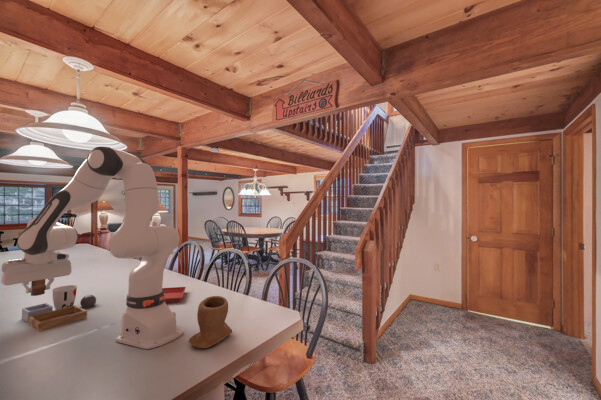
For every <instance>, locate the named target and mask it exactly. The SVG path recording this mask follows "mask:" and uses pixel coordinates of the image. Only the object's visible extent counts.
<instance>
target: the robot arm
mask: <svg viewBox="0 0 601 400" xmlns="http://www.w3.org/2000/svg"><path fill="white" fill-rule="evenodd" d="M113 178H114V179H116V180H122V182H123V188H124V189H123V190H124V191H123V193H124V199H125V201H124V203H125V215H124V218H123V220H122V223H121V224H120V226H119V228H117V230H116V231H114V232H113V233H112V234H111V236H110V237H109V239H108V250H109V252H110V254H112V256H113V257H114V258H116V259H131V260H132V259H137V258H141V260H140V262H139V263H138V264H137V265H136V266H135V267H134V268H132V270H130V272H129V276H128V290H127V291H128V294H126V299H125V302H126V303H125V305H126V306H127V307H126V309H125V311H124V313H122V317H121V325H120V334H119V335H118V336H117V337H116V339H115V342H116V343H121V344H125V345H128V346H133V347H136V348H139V349H143V350H144V349H145V350H149V349H154V348H157V347H161V346H163V345H165V344H168V343H170V342H173V341H175V340H177V339H178V338H180V337H181V336H182V335H184V329H182V328H181V327H180V326H178V325H177V318H176V316H177V315H176V311H172V310H171V308H170V307H169V306H168V305H167V303H165V299H166V298H165V297H166V296H165V295H164V292H163V290H162V288H163V286H164V285H163V284H164V283H163V281H164V273H165V272H164V271H165V267H166V264H167V262H168V259H169V257H170V256H171V254H172V252H173V251H174V250H175V249H176V248H177V247H178V246H179V243H180V235H179V232H178V230H177V229H176V228H175V227H173V226H168V225H167V226H166V225H153V226H151V225H150V224H151V219H152V217H153V216H155V215H156V214H157V213H158V212H159V211H160V208H161V207H160V206H161V205H160V197H159V189H158V183H157V179H156V176H155V172H154V169H153V168H152V165H149V164H148V163H147V162H146V161H145V160H144V159H143V158H142V157H140V156H138V155H135V154H134V155H133V154H131V153H128V152H127V151H124V150H121V149H116V148H111V147H109V146H96V147H94V148H91V150H90V151H89V153H88V154H87V158H86V159H85V160H84V161H83V162H82V164H81V165H80V166H79V168H78V169H77V170H76V172H75V174H74V175H73V177H72V179H71V180H70V181H69V182H68V183H67V185H66V186H64V188H62V189H61V190H59V191H58V192H56V193H54V194H53V196H51V198H50V199H49V200H48V201H47V203H46V204H45V205H44V207H43V208H42V209H41V210H40V211H39V213H38V214H37V215H36V217H34V218H31V219H29V220H28V222H27V224H26V225H27V226H26V227H25V228H24V229H23V230H22V231H21V233H19V235H18V237H17V239H16V241H17V242H16V244H17V247H18V248H19V249H20V250H21V252H23V253H24V255H23V257H24V258H19V259H9V260H7V261H5V262H3V264H2V265H1V272H2V276H1V284H2V285H3V286H13V285H18V284H21V285H22V286H23V287H24V289H25V293H26V294H31V293H32V288H31V287H29V286H28V285H29V284H30V283H32V281H37V280H43V279H45V280H47V281H48V282H47V283H46V284H45V291H46V290H50V289H51V285H52V284H53V283H54V281H55V278H60V277H61V278H62V277H66V276H70V275H71V274H72V262H71V260H70V259H69V258H70V254H69V253H66V252H60V251H61V250H65V249H66V250H67V249H71V248H72V247H74V246H76V244H77V242H78V240H79V234H78V231H77V229H76V228H75V227H73V226H70V225H66V224H63V223H61V222H59V220H60V219H61V218H62V216H63V215H64V214H65V213H67V212H69V211H70V210H73V209H76V208H79V207H83V206H85V205H89V204H93V203H95V202H97V201H98V200H99V199H100V198H101V197H102V196H103V194H104V193H105V191H106V189H107V187H108V185H109V184H110V182H111V180H112V179H113Z"/></svg>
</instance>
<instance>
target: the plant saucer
mask: <svg viewBox="0 0 601 400" xmlns="http://www.w3.org/2000/svg"><path fill="white" fill-rule="evenodd" d="M186 288H187V287H186V286H178V287H162V290H163V292H164V295H165V296H166V297H165V298H166V299H165V303H166V304H171V303H180V301H181V300H182V299H183V297H184V294H185V291H186Z"/></svg>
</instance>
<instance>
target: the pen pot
mask: <svg viewBox="0 0 601 400" xmlns="http://www.w3.org/2000/svg"><path fill="white" fill-rule="evenodd" d="M53 308H54V305H51V304H49V303H47V302H45V303H40V304H36V305H31V306H27V307H23V308H21V320H22V321H24V322H26V323H27V324H28V321H29V317H30V316H34V315H38V314H42V313H46V312H50V311H54V310H53Z"/></svg>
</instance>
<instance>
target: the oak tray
mask: <svg viewBox="0 0 601 400" xmlns="http://www.w3.org/2000/svg"><path fill="white" fill-rule="evenodd" d="M87 317H88V310H86V309H85V308H83V307H79V306H78V305H75V304H74V305H73V306H70V307H66V308H62V309H58V310H55V309H54V310H52V311H50V312H46V313H42V314H38V315H34V316H30V317H29V321H28V323H27V324H28V325H29V326H30V327H32V328H33V329H35V330H36V331H38V332H42V331H45V330H49V329H53V328H56V327H60V326H62V325H67V324H70V323H73V322H77V321H80V320H83V319H84V320H85V319H87Z"/></svg>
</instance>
